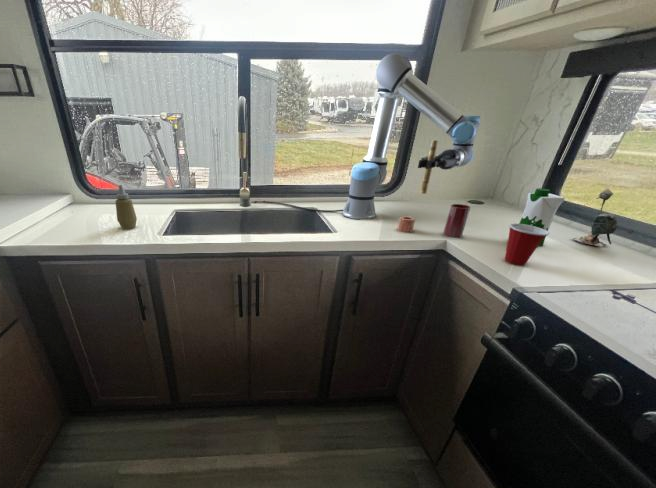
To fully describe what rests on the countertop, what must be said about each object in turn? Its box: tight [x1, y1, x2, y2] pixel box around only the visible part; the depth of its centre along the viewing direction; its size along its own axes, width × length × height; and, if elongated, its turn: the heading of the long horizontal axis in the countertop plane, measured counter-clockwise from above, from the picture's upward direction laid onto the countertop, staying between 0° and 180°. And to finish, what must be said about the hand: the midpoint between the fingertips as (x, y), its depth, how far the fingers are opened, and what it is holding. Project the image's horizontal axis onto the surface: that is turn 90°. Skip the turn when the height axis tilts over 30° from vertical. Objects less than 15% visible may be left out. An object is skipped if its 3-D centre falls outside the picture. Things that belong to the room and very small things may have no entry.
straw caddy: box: [397, 215, 416, 233], centre depth 141 cm, size 6×6×6 cm
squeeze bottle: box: [114, 184, 138, 230], centre depth 144 cm, size 8×8×18 cm
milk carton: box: [518, 187, 566, 247], centre depth 124 cm, size 9×9×20 cm
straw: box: [419, 140, 439, 195], centre depth 129 cm, size 2×2×19 cm
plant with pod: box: [573, 188, 618, 248], centre depth 123 cm, size 8×11×20 cm
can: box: [442, 203, 472, 239], centre depth 134 cm, size 7×7×12 cm
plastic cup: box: [504, 222, 550, 266], centre depth 110 cm, size 11×11×12 cm
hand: (423, 164), depth 125 cm, fingers closed on straw, 2 cm apart
